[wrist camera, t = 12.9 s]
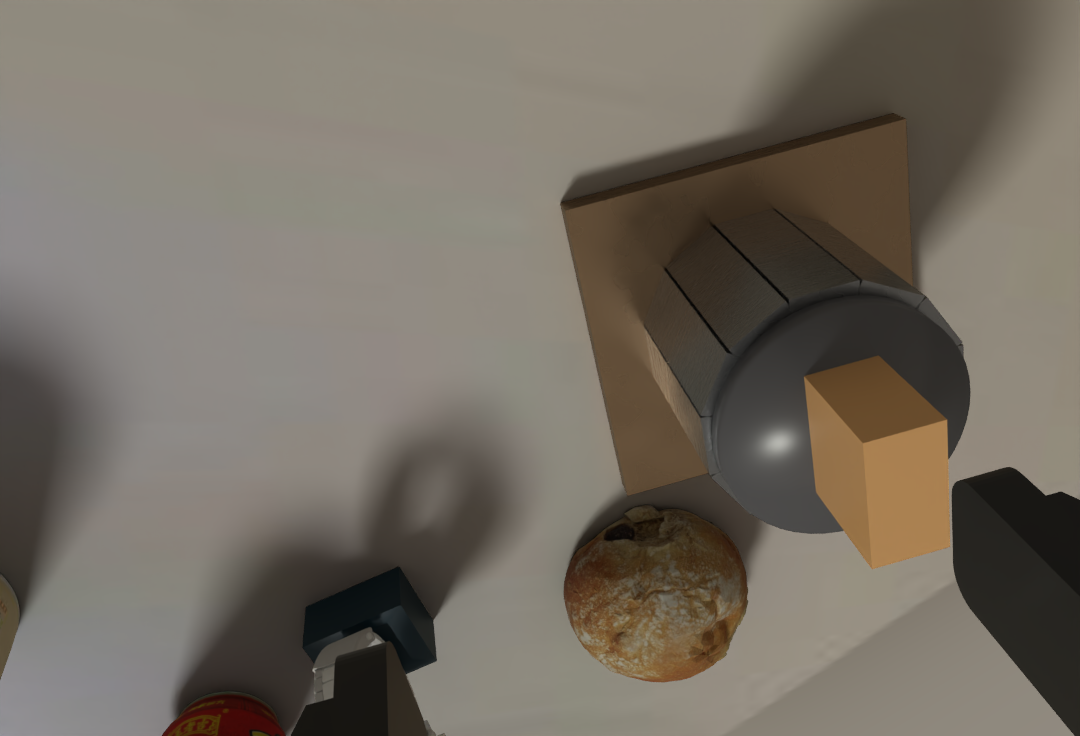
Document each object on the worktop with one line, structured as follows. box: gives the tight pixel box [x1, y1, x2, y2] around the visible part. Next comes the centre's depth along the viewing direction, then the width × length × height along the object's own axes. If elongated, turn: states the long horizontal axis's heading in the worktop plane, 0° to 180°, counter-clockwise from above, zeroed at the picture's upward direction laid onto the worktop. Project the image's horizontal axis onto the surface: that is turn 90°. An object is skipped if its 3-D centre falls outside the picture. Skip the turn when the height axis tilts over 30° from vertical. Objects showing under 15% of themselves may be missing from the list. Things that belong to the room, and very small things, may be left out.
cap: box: [712, 295, 970, 569], centre depth 37 cm, size 10×10×8 cm
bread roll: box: [564, 505, 748, 682], centre depth 53 cm, size 10×10×8 cm
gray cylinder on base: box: [560, 113, 964, 516], centre depth 44 cm, size 16×16×10 cm
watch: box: [302, 567, 446, 736], centre depth 48 cm, size 6×8×11 cm
